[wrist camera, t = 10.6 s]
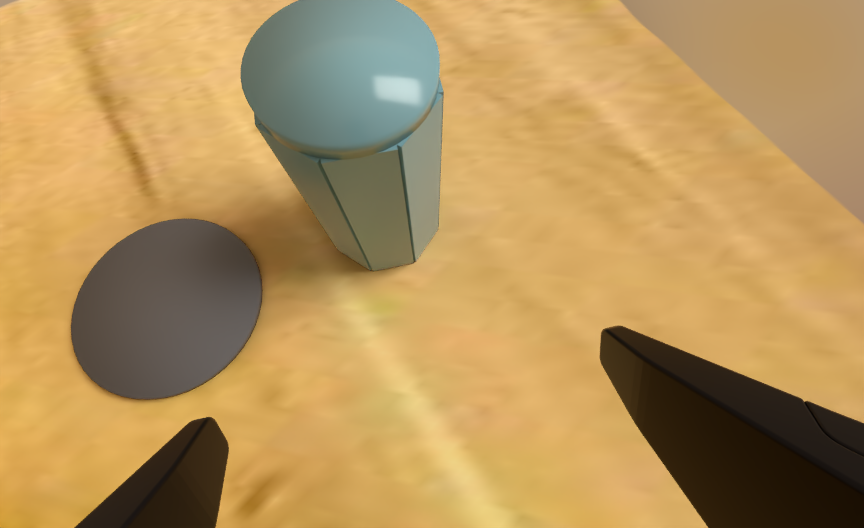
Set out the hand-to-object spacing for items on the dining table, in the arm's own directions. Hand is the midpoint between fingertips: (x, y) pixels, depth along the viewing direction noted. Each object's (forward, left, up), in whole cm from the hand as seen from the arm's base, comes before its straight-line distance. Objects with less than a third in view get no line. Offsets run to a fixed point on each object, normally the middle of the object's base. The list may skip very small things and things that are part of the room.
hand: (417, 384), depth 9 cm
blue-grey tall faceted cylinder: (+8, +8, -14) cm, 18 cm away
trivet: (-3, +16, -14) cm, 21 cm away
